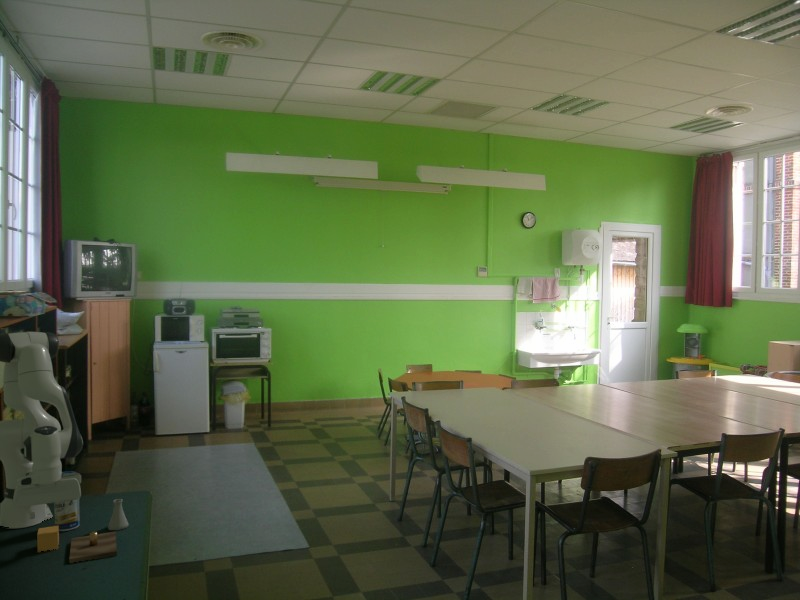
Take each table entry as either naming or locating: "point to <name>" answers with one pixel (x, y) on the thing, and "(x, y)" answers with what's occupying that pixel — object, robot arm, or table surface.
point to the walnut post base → (93, 547)
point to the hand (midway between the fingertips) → (48, 516)
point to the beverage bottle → (67, 514)
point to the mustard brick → (48, 538)
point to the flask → (118, 517)
